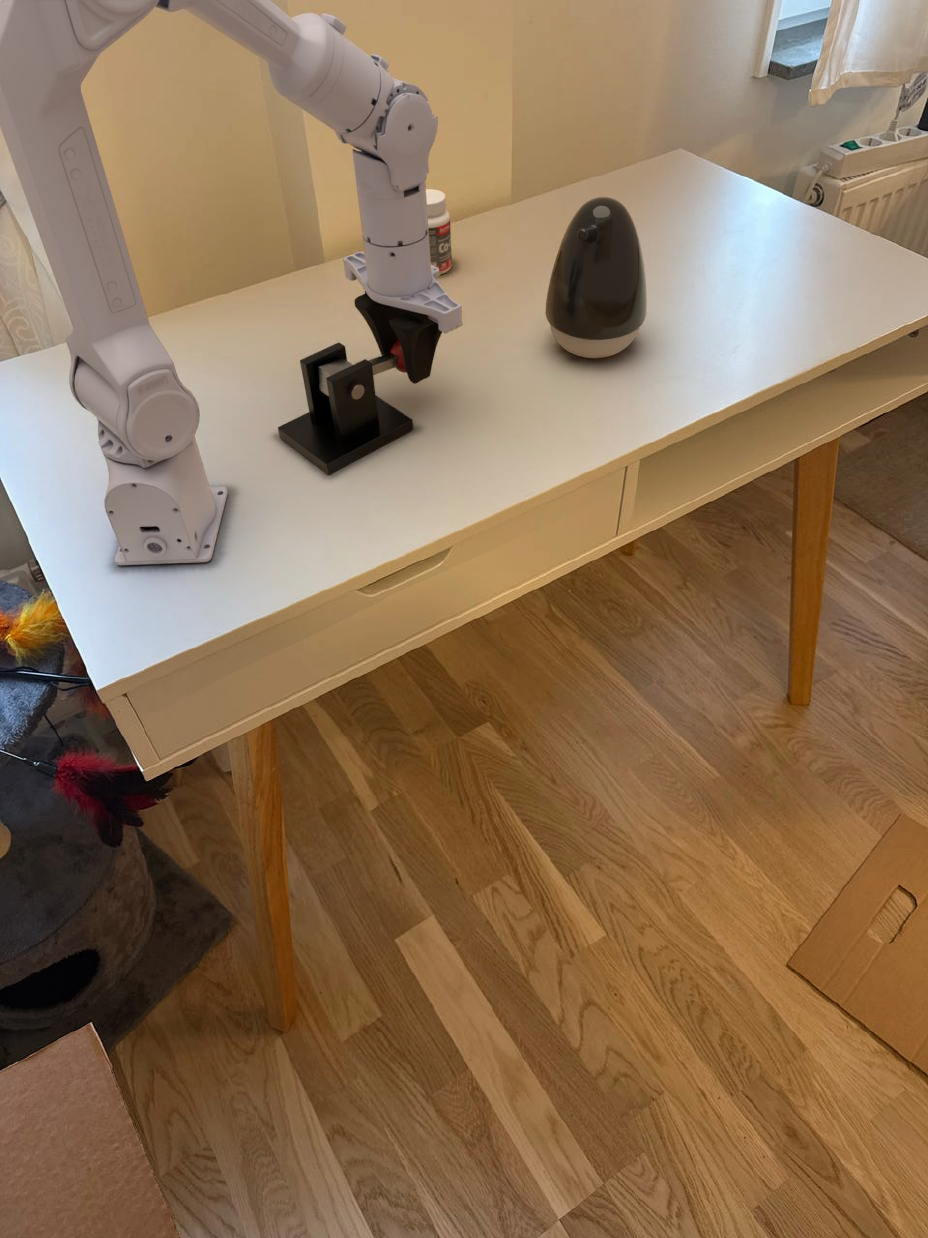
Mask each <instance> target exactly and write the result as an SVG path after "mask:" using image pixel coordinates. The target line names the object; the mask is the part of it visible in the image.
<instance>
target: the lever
mask: <svg viewBox="0 0 928 1238" xmlns="http://www.w3.org/2000/svg"><path fill="white" fill-rule="evenodd" d="M367 360H368V359H367ZM368 361H369V362H371V363H372V368H373V376H375V375H377V374H381V373H384V372H386V371H389V370H392V369H396V370H397V371H399V372H400V373H404V374H407V371H406V366H405V360H404V355H403V351H402V348H401V345H400V342H399V340H398V341H396V342H395V343H394V345H393V346H392V348H391V351H390V353H389V354H386V355H383V356H382V355H380V356H378V357H377V356H376V357H375V358H371V359H369V360H368ZM352 365H354V364H352V363H351V362H349V361H348V360H347V361H346V360H345V359H340V360H337V361H334V362H331V363H328V364H325V365H322V366H319V367H318V370H319V389H320V391H321V392H323V393H324V394H326V395H327V396H329V394H328V387H327V381H326V378H327V377H329V376H331V375H333V374H335V373H337V372H339V371H341V370H344V369H346V368H348V367H350V366H352Z"/></svg>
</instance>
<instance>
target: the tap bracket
mask: <svg viewBox="0 0 928 1238" xmlns="http://www.w3.org/2000/svg"><path fill="white" fill-rule="evenodd" d="M347 356H348V355H347V350H346V345H344V344H343V343H341V342H338V341H337V342H336V343H334V344H332V345H330V346H328V347H326V348H323V349H321V350H319V351H317V352H314V353H312V354H310V355H307V356H306V357H304V358H301V359H300V360H299V364H300V369H301V375H302V380H303V385H304V389H305V390H304V391H305V397H306V403H307V407H308V412H305V413H304V414H302V415H300V416H297V417H296V418H294V419H292V420H290V421H288V422H286V423H283V424H281V425H280V426H278V427H277V431H278V437H279V439H281V440H282V441H284V442H285V443H286V444H287V445H288V446H290V447H291V448H293V449H294V450H296V452H298V453H299V454H301V455H302V456H303V457H304V458H305V459H307V460H308V461H310V462H311V463H312V464H313V465H314V466H316V467H318V469H320V470H321V471H323V472H324V473H325V474H326V475H328V476H330V475H332V474H334V473H336V472H338V471H339V470H342V469H343V468H344V467H347V466H349V465H351V464H352V463H355V462H356V461H358V460H360V459H361V458H363V457H366V456H367V455H369V454H371V453H373V452H375V451H377V450H378V449H380V448H382V447H384V446H386V445H389V444H390V443H391V442H393V441H396V440H397V439H400V438H401V437H403V436H404V435H407V434H408V433H410V432H412V431H413V430H414V422H413V421H414V420H413V418H412V417H409V416H408V415H406V414H405V413H404V412H402V411H400V410H399V409H397V408H396V407H395V406H393V405H392V404H390V403H388V402H387V401H385V400H384V399H382V398H380V397H379V396H378V395H376V393H377V392H376V386H375V377H374V375H373V368H372V363H371V362H369V361H368V359H366V358H364V359H363V360H360V361H358V362H356V363H354V364H353V365H352V366H350V367H348V368H346V369H344V370H341V371H339V372H337V373H335V374H333V375H331V376H329V377H327V378H326V381H327V387H328V394H329V396H327V395H326V394H324V393H323V392H321V391H320V389H319V370H318V367H319V366H322V365H325V364H328V363H331V362H334V361H337V360H340V359H345V360H346V361H348V357H347Z"/></svg>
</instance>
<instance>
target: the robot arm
mask: <svg viewBox="0 0 928 1238" xmlns="http://www.w3.org/2000/svg"><path fill="white" fill-rule="evenodd" d="M155 8H157V9H160V10H163V11H166V12H168V13H174V12H178V11H181V10H185V11H187V12H188V13H189V14H192V16H194V17H196V18H198V19H199V20H201V22H204V23H205V24H207V25H208V26H210V27H212V28H213V29H215V30H216V31H218V32H219V33H221V34H223V35H224V36H225V37H227V38H229V39H230V40H232V41H233V42H235V43H237V44H238V45H239V46H242V47H243V48H245V49H246V50H248V51H249V52H251V53H252V54H254V55H255V56H257V57H259V59H262V60H263V61H264V62H266V63H267V66H268V67H267V68H268V73H269V77H270V81H271V84H272V86H273V88H274V89H275V91H276V92H277V93H278V94H279V95H280V96H282V97H283V98H285V99H286V100H288V101H290V102H291V103H292V104H294V105H295V106H297V107H298V108H300V109H301V110H303V111H304V112H306V113H307V114H309V115H310V116H312V117H313V118H315V119H316V120H318V121H319V122H321V123H322V124H324V125H325V126H327V127H328V128H330V129H331V130H333V131H334V133H335V135H336V137H337V139H338V140H339V141H340V142H341V143H342V144H344V145H345V144H347V145H349V146H351V147H352V150H351V152H352V153H351V154H352V161H353V168H354V176H355V186H356V193H357V201H358V210H359V211H358V212H359V220H360V226H361V227H360V228H361V236H362V245H363V252H362V251H357V252H354V253H352V254H350V255H348V256H345V257H343V258H342V260H343V267H344V275H345V278H346V279H348V280H349V281H351V282H352V281H353V282H354V281H358V283H359V284H360V286H361V287H362V289H363V290H364V293H363V294H360V295H359V296H357V297H356V298H355V299H354V300H353V302H354V307H355V309H356V310H357V311H358V312H359V313H360V315H361V316H362V317H363V319H364V320H365V323H366V324H367V325H368V327H369V330H370V331H371V333H372V335H373V337H374V340H375V341H376V342H375V343H376V344H377V347H378V349H379V350H378V351H379V352H380V356H383V355H386V354H389V353H390V351H391V348H392V346H393V345H394V343H395V342H396V341H398V340H399V342H400V345H401V348H402V351H403V355H404V360H405V366H406V371H407V373H406V374H407V377H408V380H409V382H410V383H412V384H414V385H415V384H416V385H417V384H418V383H420V382H422V381H423V380H426V379H428V378H430V377H431V373H432V368H433V363H434V359H435V353H436V350H437V346H438V344H439V341H440V338H441V336H442V333H443V334H449V333H450V332H453V331H454V330H457V329H458V328H461V327H463V305H461V304H459V303H458V302H456V301H455V300H454V299H453V298H452V297H451V296H450V295H449V294H448V292H447V291H446V289H445V288H443V286H442V285H441V284H440V282H439V281H438V280H437V279H438V278H439V277H440V275H439V269H438V268H437V267H435V266H433V265H431V260H430V245H429V231H428V230H429V229H428V213H427V198H426V189H427V185H426V184H427V183H426V181H427V175H428V174H429V173H430V167H429V157H430V152H431V150H432V148H433V146H434V144H435V140H436V137H437V133H438V125H439V117H438V116H437V115H435V114H434V113H433V111H432V107H431V105H430V104H429V102H428V101H429V100H428V97H427V96H426V94H425V92H423V90H422V89H421V88H420V87H418V86H416V85H415V84H412V83H409V82H406V81H403V80H400V79H397V78H395V77H392V75H391V73H390V72H389V70H388V69H389V66H390V65H389V61H387V60H386V59H385V58H383V57H382V56H381V55H379V54H375V53H371V54H370V55H369V54H368V53H367V52H365V51H364V50H363V49H362V48H360V47H359V46H358V45H356V44H355V43H354V42H353V41H351V39H349V38H348V37H347V36H345V32H346V30H347V25H346V24H345V23H344V22H343V21H341V20H340V19H339V18H338V17H337V16H334V15H332V14H329V13H326V12H325V13H324V12H323V13H322V14H321V16H320V15H319V14H317V13H314V12H305V13H301V14H298V15H294V16H292V17H291V16H289V14H287V13H285V11H284V10H283V9H281V8H280V7H278V6H277V5H276V4H275V3H274V2H272V1H271V0H0V130H1V133H2V136H3V138H4V141H5V144H6V146H7V149H8V152H9V155H10V157H11V160H12V161H11V162H12V163H13V166H14V169H15V171H16V173H17V177H18V180H19V182H20V186H21V188H22V191H23V193H24V196H25V200H26V202H27V205H28V208H29V210H30V213H31V215H32V219H33V222H34V224H35V227H36V230H37V232H38V235H39V238H40V241H41V244H42V246H43V250H44V252H45V254H46V257H47V260H48V263H49V265H50V268H51V270H52V274H53V276H54V280H55V282H56V285H57V289H58V291H59V293H60V296H61V299H62V301H63V304H64V307H65V310H66V313H67V316H68V318H69V321H70V323H71V324H70V325H71V327H72V330H71V331H70V332H69V333H68V334H67V335H66V337H65V343H66V345H67V348H68V351H69V355H70V367H69V375H68V384H69V389H70V392H71V394H72V396H73V398H74V400H75V402H77V403H78V404H79V405H80V407H82V408H83V409H85V410H86V411H88V412H89V413H91V414H92V415H93V416H94V417H95V418H96V421H97V437H98V438H97V439H98V444H99V447H100V450H101V452H102V455H103V457H104V461H105V463H106V468H107V473H108V479H107V480H108V483H107V488H106V492H105V496H104V504H103V505H104V510H105V513H106V516H107V518H108V521H109V523H110V525H111V528H112V530H113V533H114V535H115V538H116V541H117V543H118V548H117V551H116V554H115V556H114V562H115V564H116V565H117V566H134V565H135V566H136V565H137V566H138V565H139V566H140V565H160V564H163V565H164V564H187V563H188V564H189V563H190V564H191V563H207V562H209V561H211V560H212V558H213V554H214V551H215V546H216V542H217V538H218V533H219V529H220V525H221V521H222V517H223V513H224V510H225V505H226V501H227V497H228V488H227V487H226V486H222V485H219V486H211V485H210V482H209V479H208V476H207V472H206V468H205V466H204V462H203V459H202V455H201V451H200V449H199V444H198V442H197V439H196V434H197V432H198V428H199V425H200V418H201V412H200V406H199V402H198V401H197V399H196V396H195V395H194V394H193V393H192V391H191V390H189V388H187V386H185V385H184V384H183V383H182V381H181V380H180V378H179V375H178V372H177V369H176V366H175V363H174V360H173V359H172V357H171V356H170V354H169V352H168V351H167V349H166V348H165V346H164V344H163V343H162V342H161V340H160V339H159V337H158V335H157V334H156V332H155V330H154V329H153V326H151V324H150V320H149V317H148V313H147V311H146V306H145V303H144V300H143V296H142V293H141V290H140V286H139V283H138V280H137V276H136V273H135V270H134V265H133V263H132V260H131V255H130V253H129V249H128V246H127V242H126V239H125V236H124V232H123V229H122V225H121V222H120V218H119V216H118V215H119V214H118V211H117V209H116V205H115V202H114V198H113V195H112V191H111V187H110V184H109V181H108V178H107V175H106V171H105V168H104V164H103V161H102V157H101V155H100V150H99V147H98V143H97V141H96V137H95V134H94V131H93V127H92V124H91V120H90V117H89V113H88V111H87V107H86V104H85V103H86V102H85V100H84V97H83V93H82V87H81V86H82V84H83V82H84V80H85V78H86V77H87V75H88V74H89V72H90V70H91V69H92V67H93V65H94V64H95V63H96V61H97V59H98V58H99V56H100V55H101V53H103V52H104V51H105V50H107V49H108V48H109V47H110V46H111V45H114V43H116V42H117V41H118V40H119V39H121V38H122V37H123V36H124V35H126V34H127V33H128V32H129V31H130V30H132V29H133V28H134V27H135V26H136V25H138V24H139V23H140V22H142V21H143V20H144V19H145V18H146V17H147V16H149V15H150V13H152V11H153V10H154V9H155Z"/></svg>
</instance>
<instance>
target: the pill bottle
mask: <svg viewBox="0 0 928 1238" xmlns="http://www.w3.org/2000/svg"><path fill="white" fill-rule="evenodd" d="M446 197H447V196H446V194H445V193H444V192H443V191H441V190H438V189H433V188H429V189H428V188H426V198H427V213H428V229H429V230H428V231H429V245H430V260H431V265H433V266H435V267H437V268H438V269H439V276H441V275H443V274H446V273H448V272H449V271H450V270H451V269H452V266H453V257H452V256H453V255H452V233H451V231H452V230H451V216H450V215H451V214H450V213H449V211H448V210H447V199H446Z"/></svg>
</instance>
